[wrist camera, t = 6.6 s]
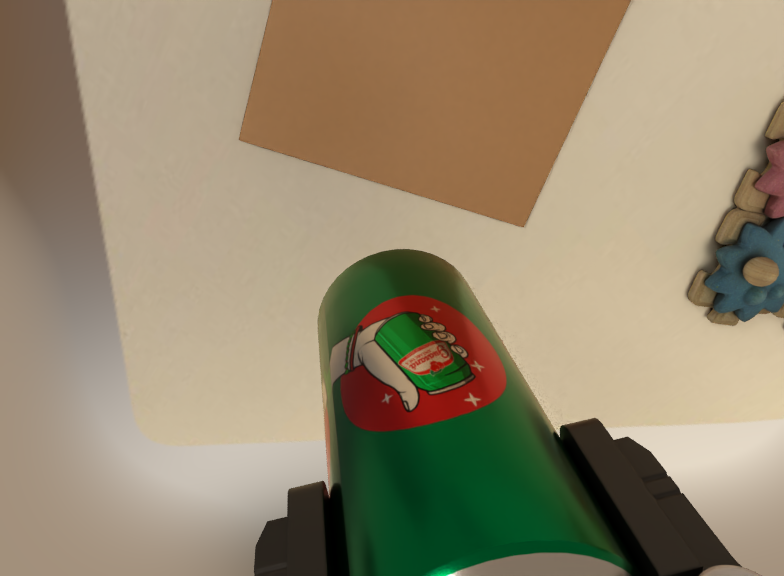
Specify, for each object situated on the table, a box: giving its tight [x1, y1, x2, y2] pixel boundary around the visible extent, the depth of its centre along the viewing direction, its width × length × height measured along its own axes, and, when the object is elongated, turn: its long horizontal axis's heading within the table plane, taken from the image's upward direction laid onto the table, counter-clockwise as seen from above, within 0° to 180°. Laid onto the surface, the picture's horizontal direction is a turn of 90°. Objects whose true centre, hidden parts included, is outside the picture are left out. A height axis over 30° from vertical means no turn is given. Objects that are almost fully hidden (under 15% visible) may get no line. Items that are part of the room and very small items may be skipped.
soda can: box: [318, 249, 642, 576], centre depth 13 cm, size 5×5×12 cm
